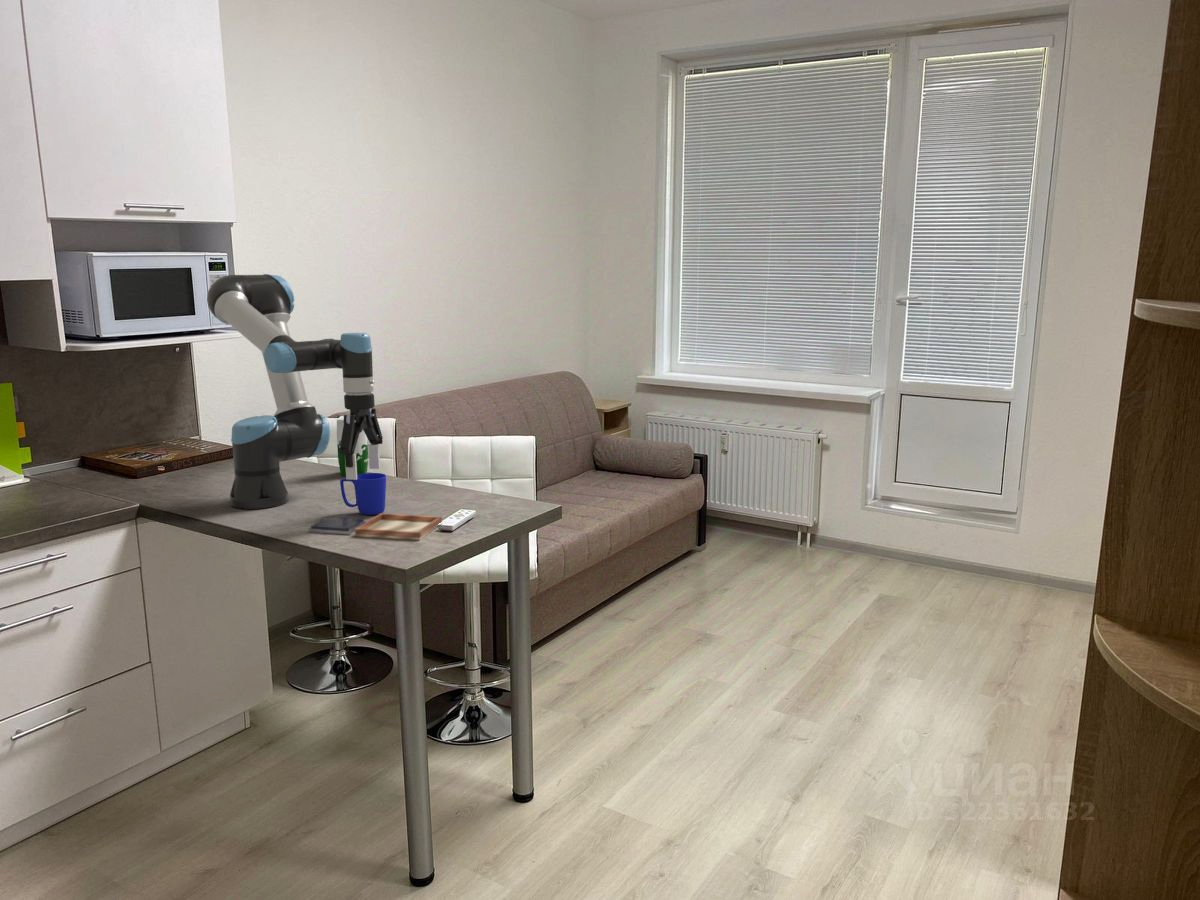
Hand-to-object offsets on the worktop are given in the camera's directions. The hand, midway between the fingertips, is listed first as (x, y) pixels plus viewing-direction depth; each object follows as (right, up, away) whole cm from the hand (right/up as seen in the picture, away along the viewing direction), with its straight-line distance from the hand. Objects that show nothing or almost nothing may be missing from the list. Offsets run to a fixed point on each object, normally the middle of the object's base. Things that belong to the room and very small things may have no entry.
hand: (363, 473), depth 239 cm
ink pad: (-3, -13, -12) cm, 18 cm away
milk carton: (-16, -1, +48) cm, 51 cm away
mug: (0, -11, +2) cm, 11 cm away
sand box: (+12, -13, -13) cm, 23 cm away
